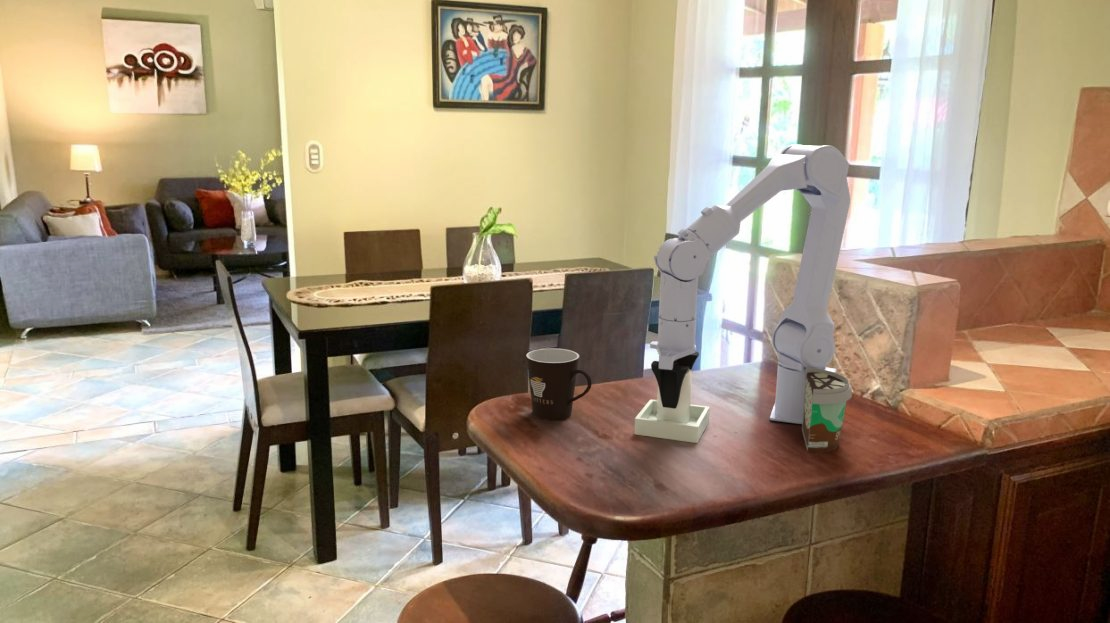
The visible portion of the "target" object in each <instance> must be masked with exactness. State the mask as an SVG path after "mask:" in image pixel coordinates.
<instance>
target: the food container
mask: <svg viewBox="0 0 1110 623" xmlns="http://www.w3.org/2000/svg"><path fill="white" fill-rule="evenodd" d="M852 397H853V394H852V387H851V384H850V382H849V379H848V378H847V377H846V376H844V375H842V374H840V373H837V372H836V373H835V372H831V371H828V370H823V369H817V368H807V367H806V375H805V393H804V407H803V422H802V424H801V431H802V436H803V439H804V443H805V448H806V451H807V453H826V452H831V451H834V450H836V449H837V448H838V447H839V444H840V440H841V435H842V434H841V433H842V428H843V421H844V418H845V410H846V405H847V401H849V400H851V398H852Z"/></svg>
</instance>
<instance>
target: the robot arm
mask: <svg viewBox="0 0 1110 623" xmlns="http://www.w3.org/2000/svg"><path fill="white" fill-rule="evenodd" d="M849 169H850V163H849V161H848V160H847V158H846V157H845V156H844V155H843V153H842V152H841V151H840V150H839V149H838V148H836V146H833V145H828V144H827V145H806V144H805V145H803V144H799V143H793V144H790V145H788V146H786V147H785V148H784V149H783V150H782V151H781V152H780V153H778V154H776V155H774V156H773V157H771V159H770V161H769V163H768V164H767V165H766V167H764V168H763V169H762V170H761V171H760V172H759V173H758V174H757V175H756V176H754V178H753V179H752V180H751V181H750V182H749V183H747V185H745V187H743V188H742V190H740V191H739V192H738V193H737V194H736V195H735V196H733V198H731V200H730V201H729V202H727V203H726V205H719V204H716V205H715V204H714V205H712V206H711V207H708V206H706V207H704V208H703V209H702V210H701V211H700V213H701V215H700V217H698V218H697V219H696V220H695V221H693V222H692V223H691V224H690V225H689V226H688V227H687V228H686V229H684V228H681V230H679V231H678V232H677V234H678V237H674V238H669V239H667V240H665V241H663V243H661V245H660V246H659V248H658V251H657V252H656V255H654V257H653V258H654V259H653V261H654V264H655V266H656V268H657V269H658V271H659V273H660V280H659V282H660V284H659V299H658V300H659V304H658V328H657V340H656V341H655V340H653V341H651V342H650V343H649V348H650V349H655V350H656V351H657V354H658V360H653V361H652V362H651V364H650V368H651V371H652V373H653V375H654V376H655V380H656V382H657V387H658V386H659V391H660V396H661V402H662V406H663V407H666V408H674V409H676V407H677V405H678V401H679V397H680V391H681V386H682V383H683V380H684V377H685V375H686V373H687V371H688V369H690V370H693V367H694V366H695V363H696V361H697V359H698V357H699V356H700V355H699V354H700V353H699V352H698V351H697V345H696V334H697V332H696V328H697V311H698V310H697V308H698V291H699V290H698V286H699V277H700V276H702V275H703V274H704V272H705V270H706V267H707V263H708V261H709V260H710V259H711V258H712V257H713V256H714V255H716V253H718V251H720V250H721V249H722V248H723V247H725V246H726V245H727V244H729V242H730V241H732V240H733V239H734V238H735V237H737V236H738V235H739V233H740V231H741V230H740V229H741V222H742V221H744V220H745V219H746V218H747V217H749V216H751V215H752V213H754V212H755V211H756V210H759V208H761V207H762V206H763V205H764V204H766V203H767V202H769V201H770V200H771V199H772V198H774V197H775V196H777V195H778V194H779V193H780V192H782V191H783V192H784V191H790V190H791V191H792V190H796V191H798V192H800V194H801V195H802V196H803V197H804V199H805V200H806V202H808V204H809V205H810V206H811V212H810V216H809V221H808V224H807V226H808V227H807V232H806V235H805V239H804V245H803V251H802V255H801V259H800V264H799V269H798V274H797V279H796V283H795V288H794V292H793V297H792V303H790V305H788V306H786V308H784V309H783V310H782V311H781V315H780V319H779V321H778V323H777V324H776V326H775V327H774V328H773V331H772V333H771V339H770V340H771V345H772V348H773V349H774V351H775V352H776V353H777V360H778V361H777V370H776V371H777V373H776V374H777V375H776V387H775V402H774V404H773V407H772V410H771V413H770V415H769V420H770V421H773V422H780V423H781V422H782V423H789V424H798V425H802V422H803V407H804V393H805V375H806V367H807V368H817V369H823V370H828V371H831V372H835V373H837V369H836V368H833V367H828V365H829V364H830V363H831V361H832V360H833V358H834V355H835V352H836V344H835V339H834V333H835V328H836V326H835V323H834V321H833V319H832V317H831V315H830V314H829V312H828V307H829V302H830V298H831V292H832V288H833V285H834V279H835V274H836V270H837V265H838V260H839V257H840V251H841V247H842V242H843V239H844V233H845V229H846V224H847V220H848V214H849V209H850V205H851V194H850V189H849V188H850V187H849V184H848V178H847V176H848V174H849Z"/></svg>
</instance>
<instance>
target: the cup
mask: <svg viewBox="0 0 1110 623" xmlns="http://www.w3.org/2000/svg"><path fill="white" fill-rule="evenodd" d="M692 370H693V369H692ZM692 370H690V369H688V371H687V373H686V375H685V377H684V380H683V383H682V386H681V391H680V397H679V401H678V405H677V407H676V409H674V408H666V407H663V406H662V402H661V396H660V391H659V386H658V385H657V397H656V398H657V399H656V400H657V417H656V419H657V420H661V421H669V422H676V423H683V424H687V423H688V422H689V421H690V404H691V402H692V401H691V399H692V383H693V371H692ZM691 405H692V404H691Z"/></svg>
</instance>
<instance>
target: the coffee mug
mask: <svg viewBox="0 0 1110 623" xmlns="http://www.w3.org/2000/svg"><path fill="white" fill-rule="evenodd" d="M525 356H526V364H527V365H526V366H527V373H528V382H529V384H528V385H529V390H530V392H529V393H530V400H531V409H532V415H533V416H534V417H535V416H536V417H535V418H537V417H538V418H537V419H539V418H541V419H540V420H543V419H545V420H544V421H562V420H566V419H568V418H570V417H571V416H572V412H573V405H574V402H575V401H577V400H579V399H581V398H583V397H584V396H586V395H587V394H588V393H589V392H590V390H591V388H592V378H591V376H590V374H589V373H588V372H587V371H585V370H584V369H580V368H579V359H580V354H579V353H578V352H575V351H573V350H570V349H565V348H551V347H550V348H541V349H540V348H538V349H535V350H531V351H528V352H527V353H526V355H525ZM578 368H579V369H578ZM578 374H581V375H583V376H584V377H585V379H586V381H587V387H586V389H584V391H583V392H581V393H580V394H577V395H575V389H576V388H575V387H576V382H577V375H578ZM546 419H547V420H546ZM561 419H562V420H561Z"/></svg>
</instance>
